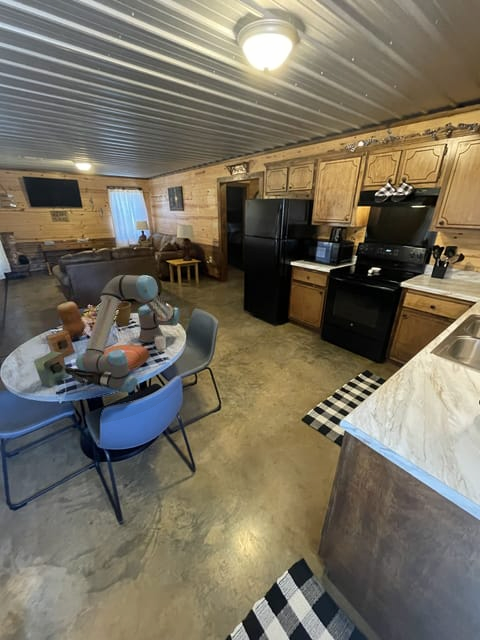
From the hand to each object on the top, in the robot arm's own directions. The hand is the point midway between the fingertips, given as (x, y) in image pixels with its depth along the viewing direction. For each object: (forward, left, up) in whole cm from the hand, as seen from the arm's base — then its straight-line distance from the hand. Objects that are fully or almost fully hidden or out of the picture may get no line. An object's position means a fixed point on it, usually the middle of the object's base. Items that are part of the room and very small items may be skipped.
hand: (66, 370), depth 129 cm
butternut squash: (-49, -34, -8) cm, 60 cm away
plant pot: (-73, -13, -8) cm, 74 cm away
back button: (-24, -21, -2) cm, 32 cm away
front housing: (-2, -10, -8) cm, 13 cm away
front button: (-1, -6, -2) cm, 7 cm away
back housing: (-26, -25, -8) cm, 37 cm away
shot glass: (-42, +30, -8) cm, 52 cm away
